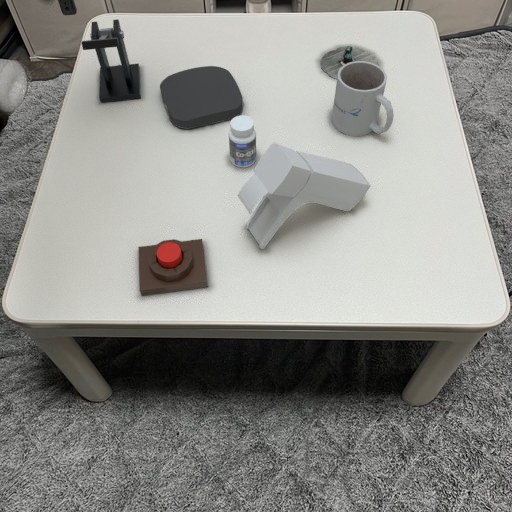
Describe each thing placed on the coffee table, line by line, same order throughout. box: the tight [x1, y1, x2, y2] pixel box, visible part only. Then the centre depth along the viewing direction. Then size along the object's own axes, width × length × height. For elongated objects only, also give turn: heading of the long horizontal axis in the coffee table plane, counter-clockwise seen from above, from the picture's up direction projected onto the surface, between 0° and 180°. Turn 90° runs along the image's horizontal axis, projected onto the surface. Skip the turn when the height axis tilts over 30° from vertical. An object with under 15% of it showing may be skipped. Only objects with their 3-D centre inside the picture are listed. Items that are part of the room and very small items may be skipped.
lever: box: [81, 27, 119, 51], centre depth 93 cm, size 12×6×2 cm, turn 9°
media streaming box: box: [159, 65, 244, 129], centre depth 101 cm, size 15×15×3 cm
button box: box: [138, 238, 209, 297], centre depth 79 cm, size 10×8×4 cm
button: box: [157, 242, 182, 268], centre depth 77 cm, size 4×4×2 cm
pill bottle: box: [228, 114, 257, 168], centre depth 90 cm, size 5×5×8 cm
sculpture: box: [319, 45, 381, 80], centre depth 109 cm, size 12×9×8 cm
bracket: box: [89, 18, 142, 104], centre depth 101 cm, size 10×8×13 cm
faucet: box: [236, 142, 371, 250], centre depth 81 cm, size 6×16×20 cm
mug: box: [331, 61, 394, 137], centre depth 94 cm, size 12×9×10 cm
